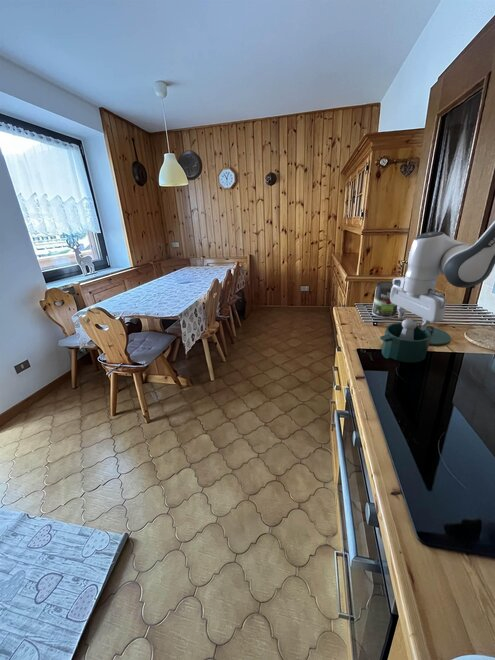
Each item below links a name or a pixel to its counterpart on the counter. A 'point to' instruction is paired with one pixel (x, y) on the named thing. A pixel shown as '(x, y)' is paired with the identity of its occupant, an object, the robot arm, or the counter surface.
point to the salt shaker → (408, 329)
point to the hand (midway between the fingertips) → (411, 323)
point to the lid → (439, 336)
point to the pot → (405, 344)
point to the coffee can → (383, 301)
